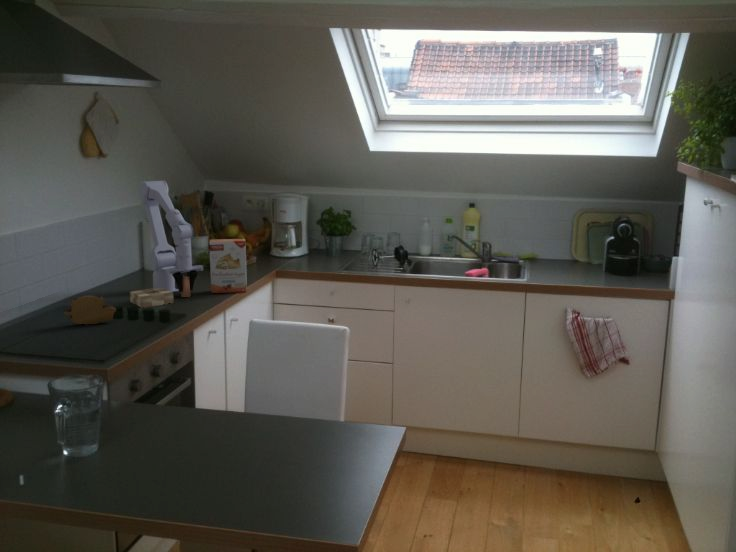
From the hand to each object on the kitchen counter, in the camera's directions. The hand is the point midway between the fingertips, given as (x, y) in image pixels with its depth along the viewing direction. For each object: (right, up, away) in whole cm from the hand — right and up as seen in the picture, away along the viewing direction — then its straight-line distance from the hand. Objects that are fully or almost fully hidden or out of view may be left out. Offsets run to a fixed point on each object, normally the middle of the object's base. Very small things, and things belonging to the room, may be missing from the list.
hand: (185, 290), depth 287 cm
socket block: (-11, -4, -9) cm, 14 cm away
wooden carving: (-22, -11, -39) cm, 46 cm away
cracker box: (+15, -1, +9) cm, 18 cm away
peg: (0, -2, 0) cm, 2 cm away
